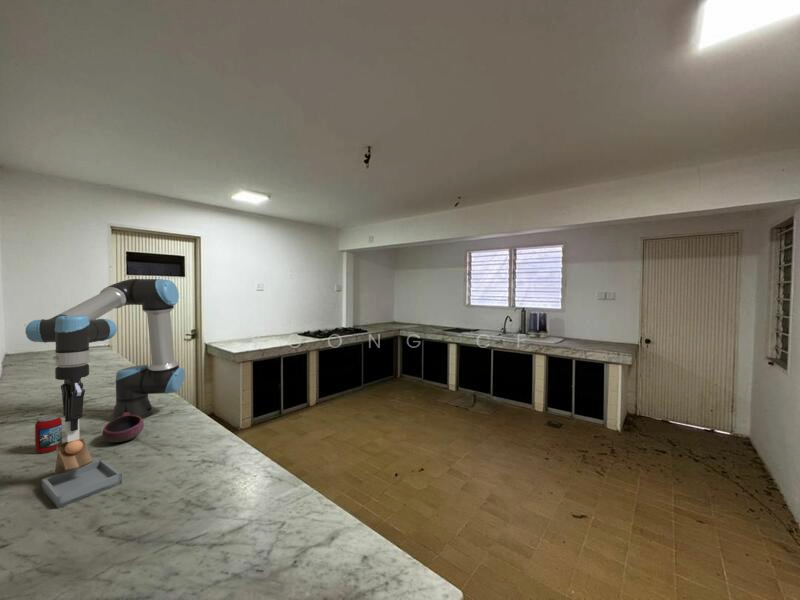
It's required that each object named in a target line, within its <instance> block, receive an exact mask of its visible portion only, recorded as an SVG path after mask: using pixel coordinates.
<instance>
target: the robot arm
mask: <svg viewBox="0 0 800 600" xmlns="http://www.w3.org/2000/svg"><path fill="white" fill-rule="evenodd" d="M179 295H180V294H179V290H178V287H177V285H176V284H175V283H174V281H172V280H170V279H162V278H129V279H125V280H122V281H119V282H116V283H113V284H111V285H108V286H107V287H104V288H103V289H102V290H100V292H99V294H97V295H94V296H92V297H91V298H89V299H87V300H84V301H82V302H81V303H79V304H77V305H75V306H73V307H70V308H69V309H67V310H64V311H62V312H61V313H59V314H57V315H55V316H53V317H51V318H48V319H45V318H41V319H35V320H32V321H30V322H29V323H28V324H27V326H26V327H25V335H26V337H27V339H28V340H29V341H31V342H34V343H44V344H45V343H55V355H54V356H52V359H53V360H55V366H56V367H55V369H54V378H55V380H57V381H58V380H59V381H63V382H64V383H62V384H61V385H60V389H61V399H62V414H63V415H62V416H63V417H64V418H65V419H64V423H65V442H71V441H74V440H78V439H79V438H80V419H82V418H83V409H84V397H85V392H86V389H85V388H84V382H82V380H81V379H82V378H86V377H88V376H90V365H89V364H88V363H90V344H91V343H97V342H105V341H107V340H110V339H112V338H113V337H115V335H116V333H117V332H118V331H117V330H118V327H117V325H116V323H115V322H114V321H113V320H111V319H108V318H100V317H102V316H104V315H106V314H107V313H108V312H111V311H112V310H114V309H120V308H123V307H124V306H135V305H136V306H137V305H138V306H141V307H142V308H141V309H142V311H143V312H145V314H146V317H147V328H148V336H149V346H150V348H149V349H150V357H151V364H150V365H147V364H140V365H135V366H130V367H125V368H122V369H120V370H117V372H116V374H115V379H114V380H115V381H114V382H115V405H114V407H113V409H112V412H111V414H110V415H111V416H110V417H111V418H110V420H111V421H112V420H114V419H116V418H118V417H121V416H122V414H123V413H125V412H129V413H130V414H131V415H136V416H139V417H141V418H142V419H143V420H144V419H145V418H149V417H150V416H152V414H153V412H154V408H153V406H152V404H151V403H152V402H151V401H150V399H149V395H155V394H157V395H159V394H160V395H161V394H165V395H166V394H173V393H177V392H178V391H180V390H181V388H182V386H183V384H184V381H185V377H186V376H185V375H186V374H185V373H186V372H185V371H186V370H185V369H184V368H183V367H179V366H180V365H179V362H178V361H177V360H175V352H174V341H173V330H172V318H171V316H172V315H171V312H172V311H173V310H174V308H175V305H177V304H178V302H179V298H180V296H179ZM111 421H110V422H111Z"/></svg>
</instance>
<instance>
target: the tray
mask: <svg viewBox="0 0 800 600" xmlns="http://www.w3.org/2000/svg"><path fill="white" fill-rule="evenodd" d="M122 477H123V475H122V473H121V471H119V470H118V469H117V468H115V467H114V466H112V465H111V464H110V463H108V462H106V460H104V459H102V458H101V459H98V460H96V461H93V462H92V463H90V464H88V465H86V466H83V467H81V468H79V469H75V470H70V471H65V472H62V473H59V474H56V475H55V474H54V475H53V474H52V475H50V476H47V477H45V478H42V479H41V490H42V491H43V493H44V494H45V495H46V496H47V497H48V498H49V499H50V501H51V502H52V503H53V504H54V505H55V506H56V508H57V509H60V508H63V507H65V506H68V505H70V504H73V503H76V502H78V501H80V500H83V499H86V498H89V497H91V496H94V495H96V494H99V493H102V492H104V491H106V490H110V489H112V488H113V487H114V488H115V487H116V486H119V485H121V484H123V478H122Z"/></svg>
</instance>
